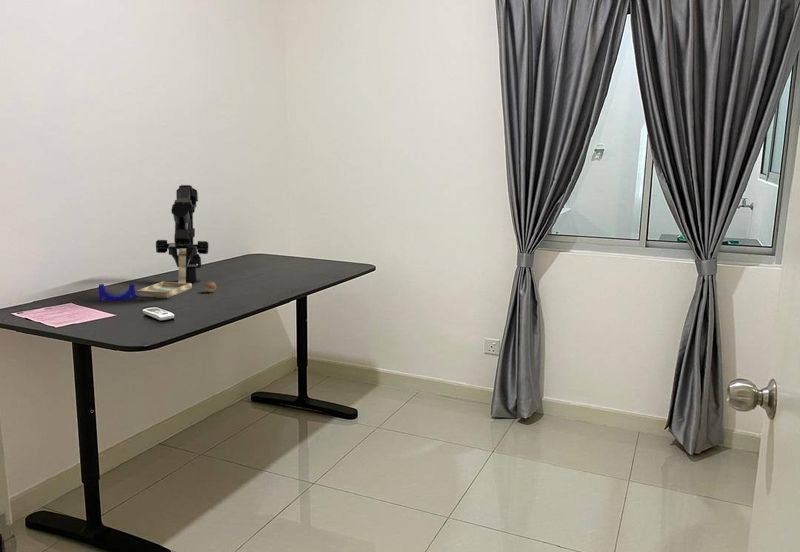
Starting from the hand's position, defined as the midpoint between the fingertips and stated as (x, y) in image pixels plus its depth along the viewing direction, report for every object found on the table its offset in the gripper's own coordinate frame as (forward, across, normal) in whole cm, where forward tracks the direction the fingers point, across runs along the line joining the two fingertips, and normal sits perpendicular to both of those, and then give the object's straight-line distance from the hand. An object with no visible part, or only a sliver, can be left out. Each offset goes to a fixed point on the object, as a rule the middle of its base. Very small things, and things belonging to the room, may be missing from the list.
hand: (182, 267), depth 239 cm
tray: (+2, -6, +19) cm, 20 cm away
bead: (+4, +11, +15) cm, 19 cm away
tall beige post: (+4, 0, +6) cm, 7 cm away
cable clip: (+8, -23, +13) cm, 27 cm away
